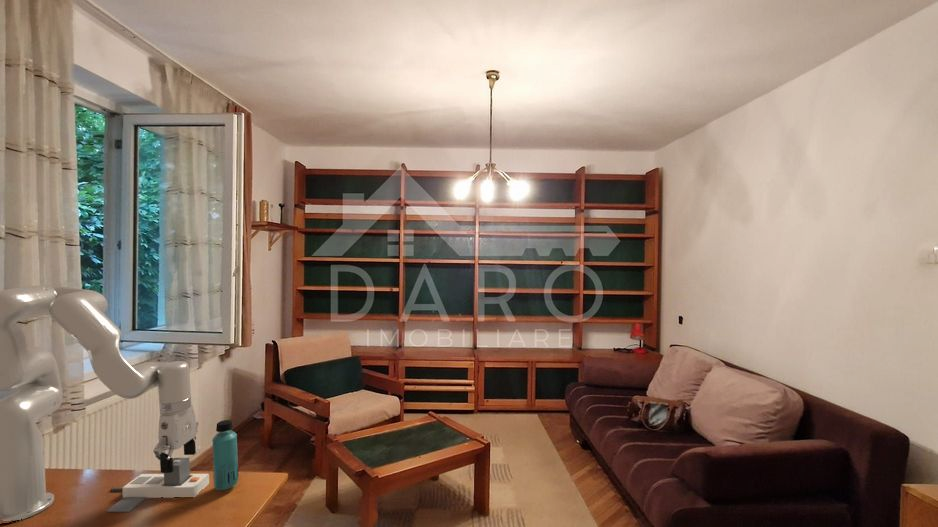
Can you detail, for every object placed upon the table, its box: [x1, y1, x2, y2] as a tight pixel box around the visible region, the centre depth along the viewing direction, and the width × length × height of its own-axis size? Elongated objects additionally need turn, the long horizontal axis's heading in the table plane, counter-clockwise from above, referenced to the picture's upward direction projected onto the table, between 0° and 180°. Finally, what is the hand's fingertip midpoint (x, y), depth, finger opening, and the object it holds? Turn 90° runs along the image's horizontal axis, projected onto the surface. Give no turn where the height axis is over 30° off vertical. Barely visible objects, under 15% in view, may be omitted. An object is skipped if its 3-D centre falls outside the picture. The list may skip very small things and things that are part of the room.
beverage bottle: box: [211, 419, 240, 491], centre depth 123 cm, size 6×7×20 cm
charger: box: [163, 457, 191, 486], centre depth 122 cm, size 4×4×7 cm
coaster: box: [106, 497, 147, 513], centre depth 115 cm, size 6×6×1 cm
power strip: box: [110, 473, 210, 499], centre depth 122 cm, size 26×7×4 cm, turn 91°
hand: (179, 462), depth 122 cm, fingers open, 9 cm apart
